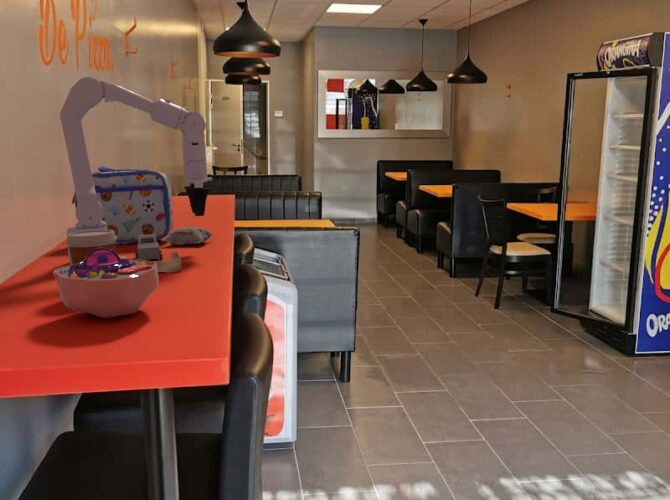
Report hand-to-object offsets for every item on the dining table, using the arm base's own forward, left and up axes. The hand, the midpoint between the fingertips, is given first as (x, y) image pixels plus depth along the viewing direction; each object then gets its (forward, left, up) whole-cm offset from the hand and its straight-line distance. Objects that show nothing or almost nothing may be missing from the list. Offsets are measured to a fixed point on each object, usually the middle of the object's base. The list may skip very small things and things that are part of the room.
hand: (198, 214), depth 181 cm
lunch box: (-18, +29, -10) cm, 36 cm away
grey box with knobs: (-13, -3, -10) cm, 17 cm away
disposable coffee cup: (-24, -39, -10) cm, 47 cm away
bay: (-13, -17, -10) cm, 24 cm away
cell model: (-21, -58, -10) cm, 62 cm away
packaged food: (-2, +15, -10) cm, 18 cm away
